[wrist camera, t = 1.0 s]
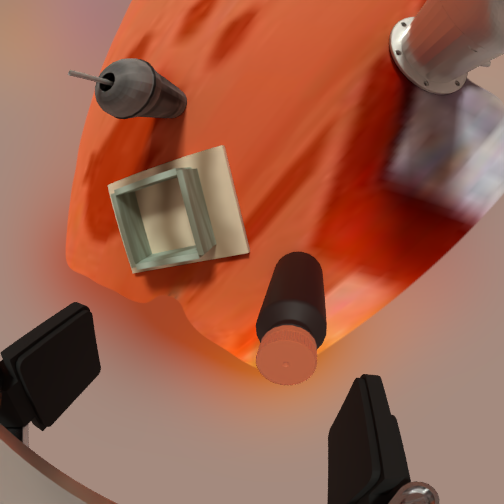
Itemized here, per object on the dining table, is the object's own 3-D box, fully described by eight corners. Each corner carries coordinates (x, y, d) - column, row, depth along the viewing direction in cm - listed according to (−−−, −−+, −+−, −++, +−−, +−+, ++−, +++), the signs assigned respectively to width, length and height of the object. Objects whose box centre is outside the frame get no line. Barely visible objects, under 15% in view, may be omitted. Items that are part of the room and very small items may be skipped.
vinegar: (307, 242, 39) (304, 315, 20) (330, 282, 40) (341, 377, 21) (265, 264, 41) (228, 347, 22) (289, 303, 42) (270, 401, 23)
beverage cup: (184, 133, 38) (88, 119, 19) (144, 119, 38) (43, 105, 19) (204, 87, 35) (120, 39, 16) (162, 76, 35) (70, 36, 17)
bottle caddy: (224, 145, 37) (209, 142, 31) (250, 250, 41) (240, 265, 35) (111, 184, 42) (87, 188, 36) (136, 271, 46) (116, 284, 40)
